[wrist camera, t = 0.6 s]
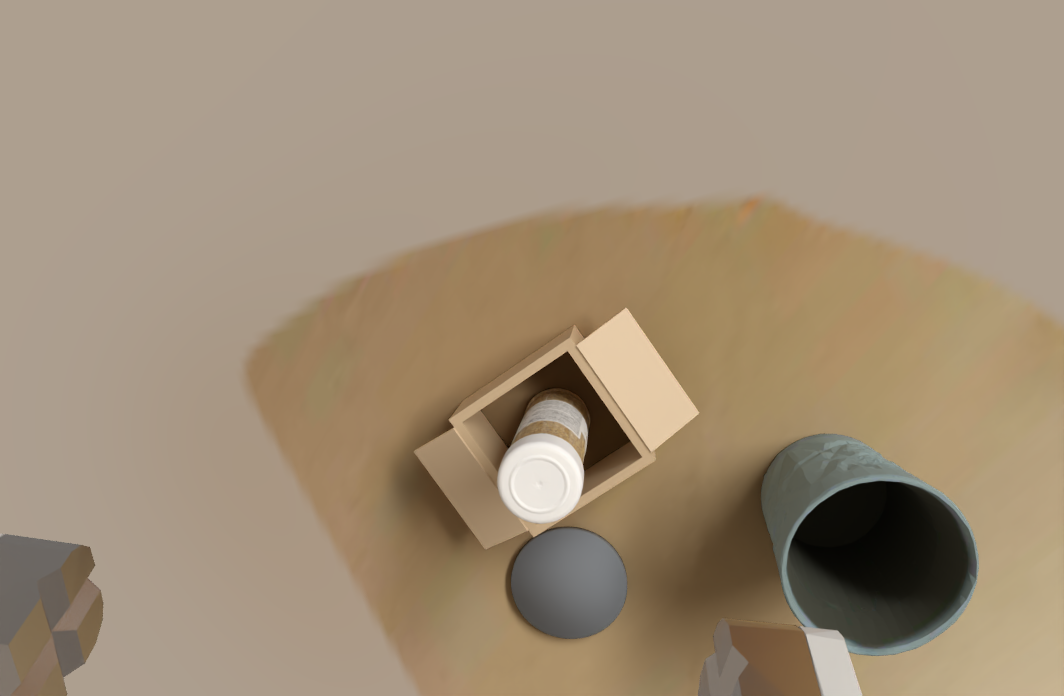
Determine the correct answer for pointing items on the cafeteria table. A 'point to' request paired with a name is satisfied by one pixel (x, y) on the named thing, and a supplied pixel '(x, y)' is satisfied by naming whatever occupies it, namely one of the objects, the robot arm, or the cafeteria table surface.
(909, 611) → the teal cup
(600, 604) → the coaster
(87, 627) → the robot arm
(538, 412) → the sprinkles bottle
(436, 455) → the carton
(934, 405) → the cafeteria table surface
